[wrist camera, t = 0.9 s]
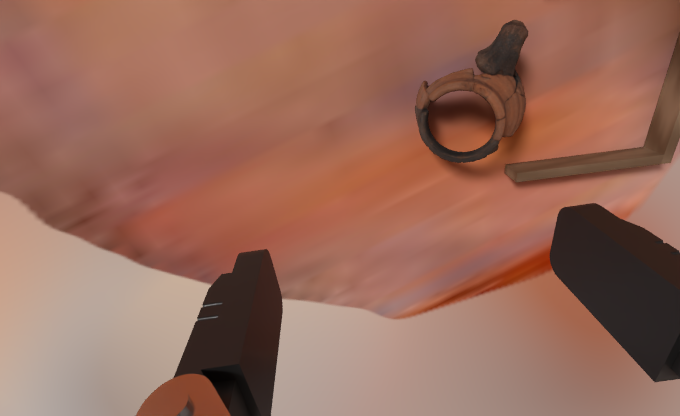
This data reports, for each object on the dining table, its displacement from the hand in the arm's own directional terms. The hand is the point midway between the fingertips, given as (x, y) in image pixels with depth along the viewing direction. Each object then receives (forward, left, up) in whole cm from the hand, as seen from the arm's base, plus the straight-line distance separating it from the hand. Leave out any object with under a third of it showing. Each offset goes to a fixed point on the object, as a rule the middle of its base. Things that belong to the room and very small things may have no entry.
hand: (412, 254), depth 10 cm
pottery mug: (+1, +12, -26) cm, 29 cm away
